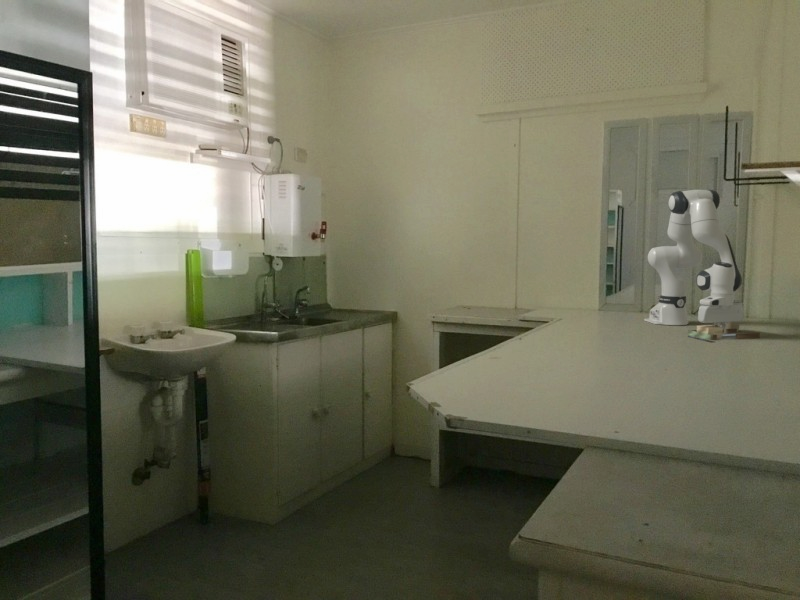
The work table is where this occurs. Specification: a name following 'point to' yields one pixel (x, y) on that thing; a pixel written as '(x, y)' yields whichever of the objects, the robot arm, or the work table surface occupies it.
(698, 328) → the beech block
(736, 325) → the flower pot
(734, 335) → the channel
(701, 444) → the work table surface
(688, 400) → the work table surface
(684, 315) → the robot arm
